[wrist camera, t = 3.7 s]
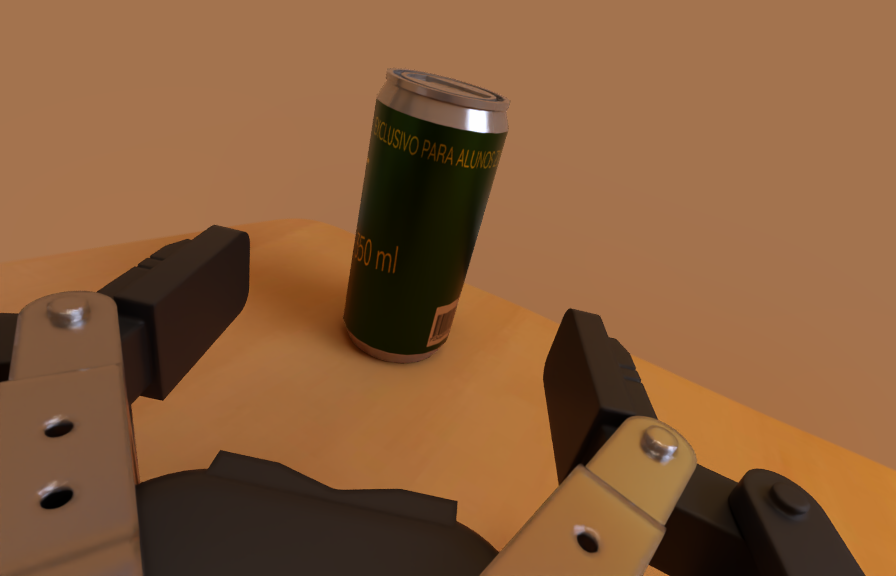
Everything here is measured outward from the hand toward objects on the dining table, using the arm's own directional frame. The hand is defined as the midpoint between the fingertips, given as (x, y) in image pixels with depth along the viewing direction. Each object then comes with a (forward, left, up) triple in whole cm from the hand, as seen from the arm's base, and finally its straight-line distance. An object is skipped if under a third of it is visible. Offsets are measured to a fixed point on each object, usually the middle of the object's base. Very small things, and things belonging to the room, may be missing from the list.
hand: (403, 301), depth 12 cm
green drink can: (-6, +8, -8) cm, 13 cm away
